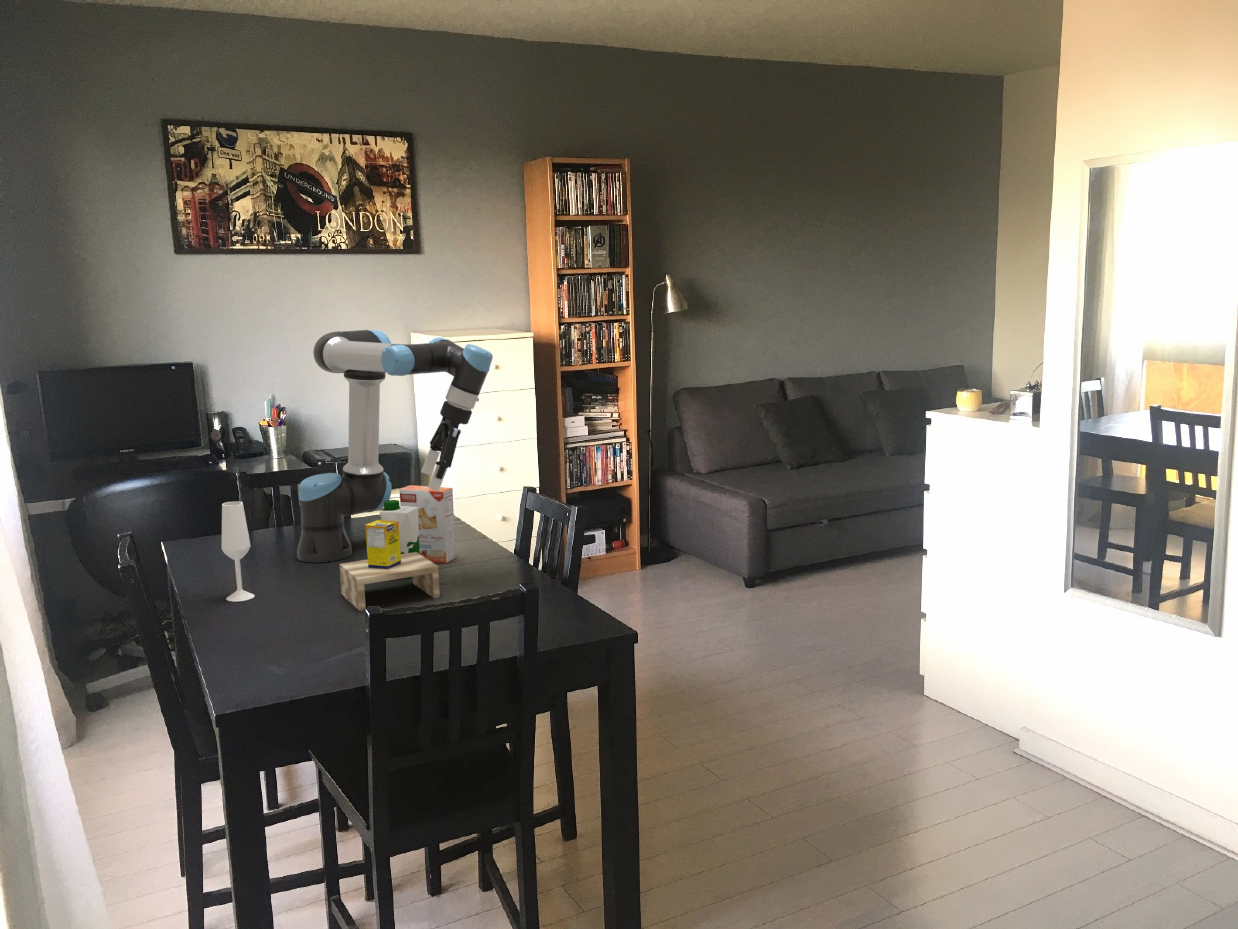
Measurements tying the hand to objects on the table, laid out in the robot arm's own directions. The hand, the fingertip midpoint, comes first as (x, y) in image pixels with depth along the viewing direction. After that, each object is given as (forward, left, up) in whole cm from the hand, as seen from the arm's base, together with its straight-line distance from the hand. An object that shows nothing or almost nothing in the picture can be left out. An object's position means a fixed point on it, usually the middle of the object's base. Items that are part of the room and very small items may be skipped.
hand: (429, 481), depth 249 cm
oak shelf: (+6, -14, -27) cm, 31 cm away
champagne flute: (-14, -46, -27) cm, 55 cm away
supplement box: (+6, -15, -19) cm, 24 cm away
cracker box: (-21, +6, -27) cm, 35 cm away
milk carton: (-11, -5, -27) cm, 30 cm away
